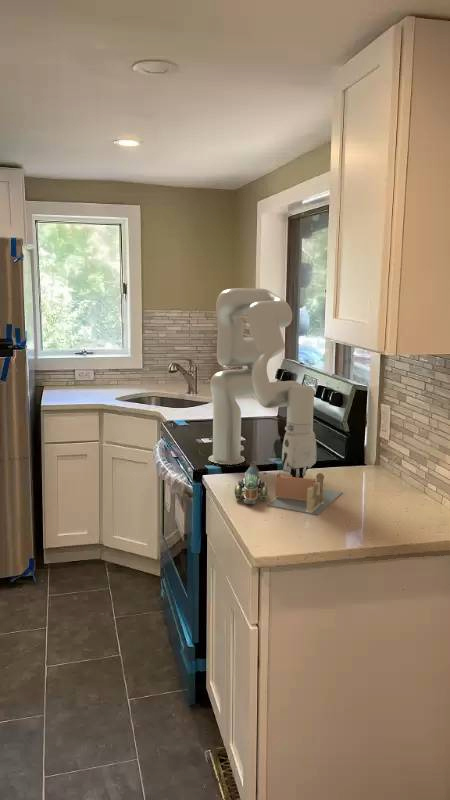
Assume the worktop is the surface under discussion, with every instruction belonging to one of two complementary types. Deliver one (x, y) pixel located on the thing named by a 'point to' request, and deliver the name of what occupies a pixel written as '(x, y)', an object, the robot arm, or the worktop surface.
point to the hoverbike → (251, 486)
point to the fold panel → (292, 487)
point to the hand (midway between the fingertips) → (297, 488)
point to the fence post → (315, 492)
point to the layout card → (305, 503)
